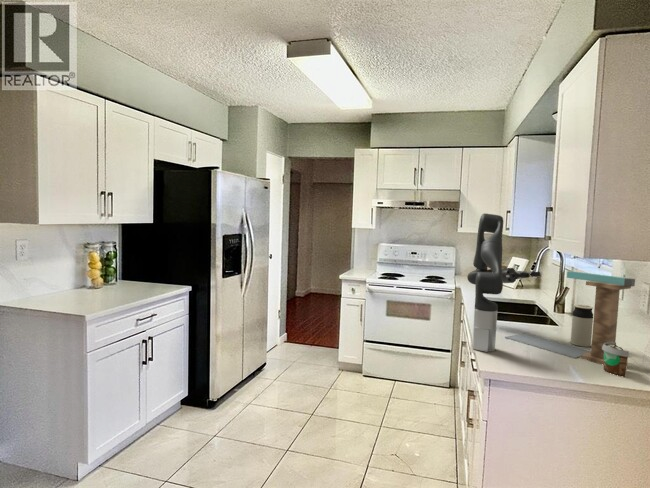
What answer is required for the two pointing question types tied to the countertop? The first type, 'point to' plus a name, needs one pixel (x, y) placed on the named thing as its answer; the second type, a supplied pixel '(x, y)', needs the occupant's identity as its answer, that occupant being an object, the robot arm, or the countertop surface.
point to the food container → (615, 359)
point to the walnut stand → (603, 318)
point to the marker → (601, 278)
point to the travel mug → (582, 325)
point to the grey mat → (549, 345)
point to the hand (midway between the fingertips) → (534, 274)
